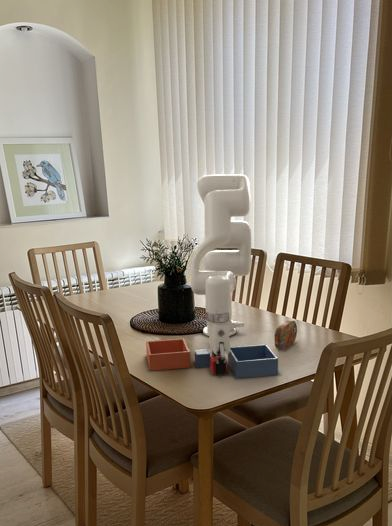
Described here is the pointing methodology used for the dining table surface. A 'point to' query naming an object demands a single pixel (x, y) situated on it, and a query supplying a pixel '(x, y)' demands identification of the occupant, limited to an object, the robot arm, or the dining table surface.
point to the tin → (285, 335)
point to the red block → (212, 364)
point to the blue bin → (252, 361)
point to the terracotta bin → (167, 354)
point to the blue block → (202, 358)
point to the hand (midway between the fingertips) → (218, 369)
